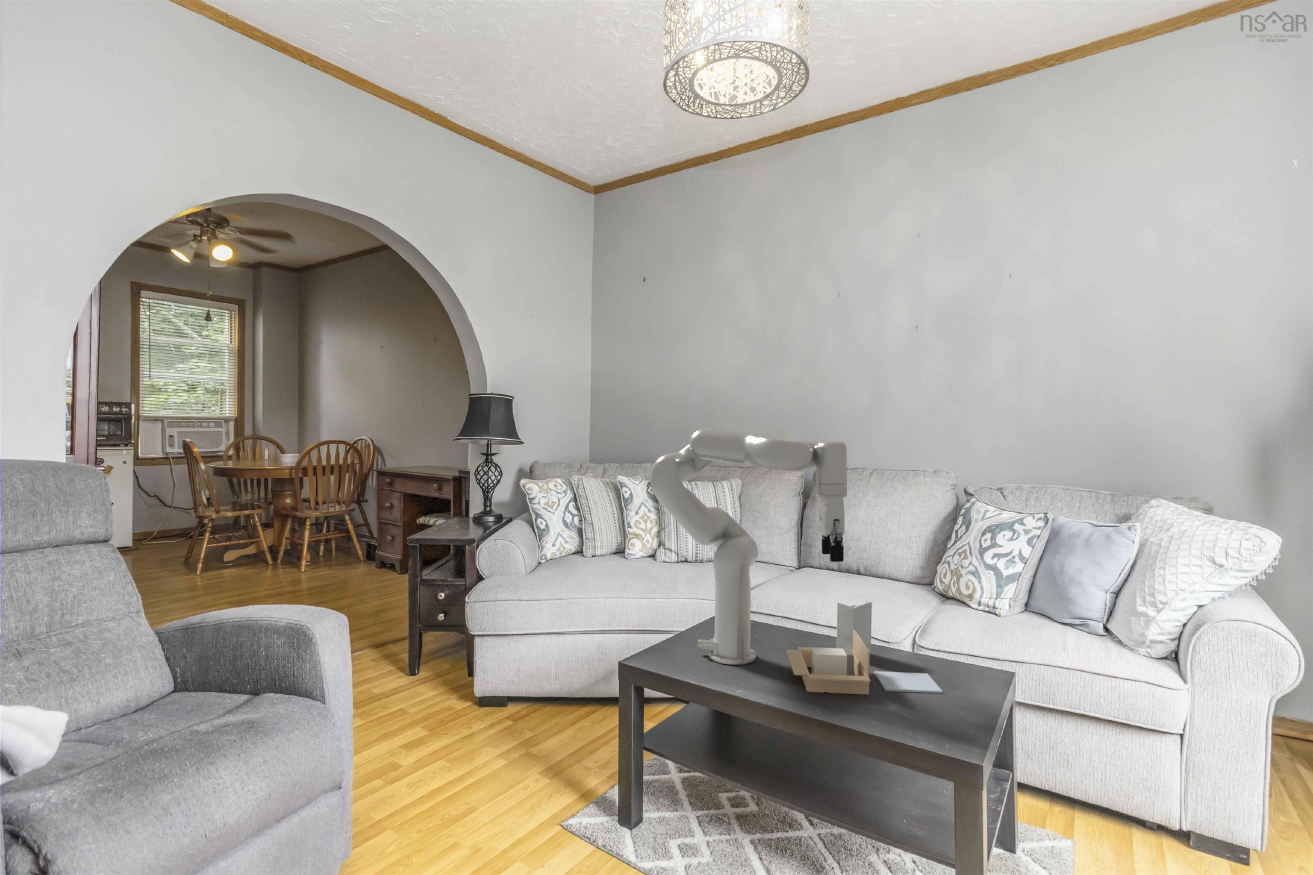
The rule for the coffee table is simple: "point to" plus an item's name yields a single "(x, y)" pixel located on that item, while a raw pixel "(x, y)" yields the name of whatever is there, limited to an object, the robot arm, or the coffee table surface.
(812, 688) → the carton
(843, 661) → the box
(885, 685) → the felt mat
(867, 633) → the skincare box
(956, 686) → the coffee table surface
